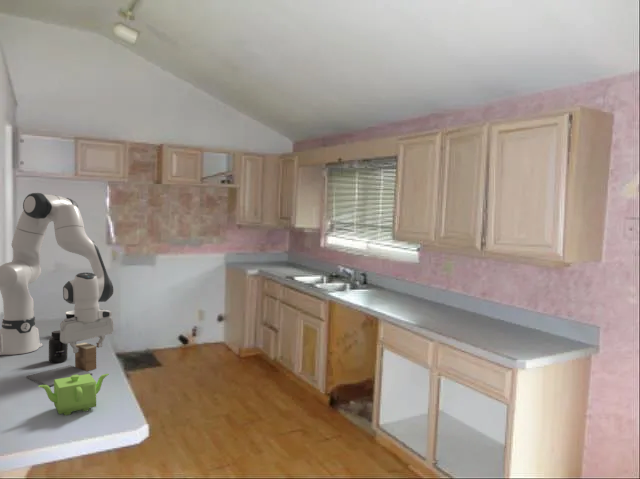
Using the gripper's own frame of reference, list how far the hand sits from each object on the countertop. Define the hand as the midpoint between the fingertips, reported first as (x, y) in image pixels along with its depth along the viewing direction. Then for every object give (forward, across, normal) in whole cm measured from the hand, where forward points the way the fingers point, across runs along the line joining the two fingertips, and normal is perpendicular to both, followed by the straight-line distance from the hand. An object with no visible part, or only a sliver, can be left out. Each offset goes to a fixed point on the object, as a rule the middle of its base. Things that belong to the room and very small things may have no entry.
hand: (88, 349), depth 189 cm
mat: (+7, -12, -1) cm, 14 cm away
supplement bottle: (+7, -3, +18) cm, 19 cm away
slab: (+7, -1, 0) cm, 7 cm away
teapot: (+8, -24, -34) cm, 43 cm away
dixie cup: (+7, +24, +53) cm, 59 cm away
